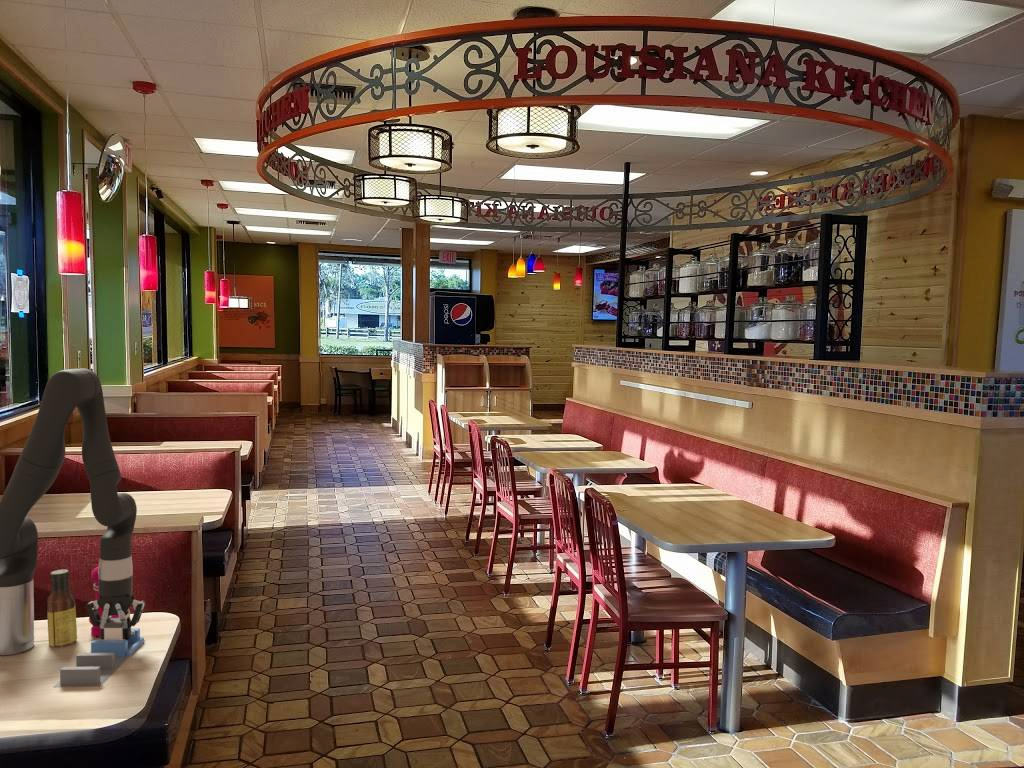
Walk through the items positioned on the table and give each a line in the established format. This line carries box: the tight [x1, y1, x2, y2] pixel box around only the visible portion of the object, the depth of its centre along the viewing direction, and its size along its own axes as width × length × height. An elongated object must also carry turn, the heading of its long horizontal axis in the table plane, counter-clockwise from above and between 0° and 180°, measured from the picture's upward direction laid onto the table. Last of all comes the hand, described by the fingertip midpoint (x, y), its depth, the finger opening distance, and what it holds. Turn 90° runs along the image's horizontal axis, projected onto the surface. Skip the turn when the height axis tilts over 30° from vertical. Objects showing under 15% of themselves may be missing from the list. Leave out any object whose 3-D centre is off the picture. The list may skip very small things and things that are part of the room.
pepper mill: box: [88, 565, 119, 637], centre depth 204 cm, size 7×7×20 cm
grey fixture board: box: [53, 627, 146, 688], centre depth 183 cm, size 10×26×5 cm, turn 5°
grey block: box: [104, 618, 123, 640], centre depth 190 cm, size 4×4×6 cm
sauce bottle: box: [46, 568, 78, 648], centre depth 193 cm, size 7×6×20 cm
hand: (116, 641), depth 190 cm, fingers closed on grey block, 4 cm apart
